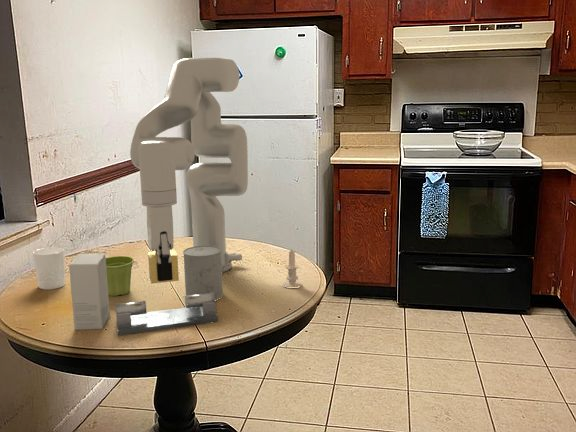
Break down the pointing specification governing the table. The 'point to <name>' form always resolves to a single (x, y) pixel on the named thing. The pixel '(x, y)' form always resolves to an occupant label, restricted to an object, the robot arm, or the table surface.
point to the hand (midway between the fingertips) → (163, 276)
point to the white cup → (49, 267)
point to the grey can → (203, 270)
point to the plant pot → (118, 274)
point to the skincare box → (89, 291)
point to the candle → (292, 271)
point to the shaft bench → (165, 315)
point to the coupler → (153, 266)
